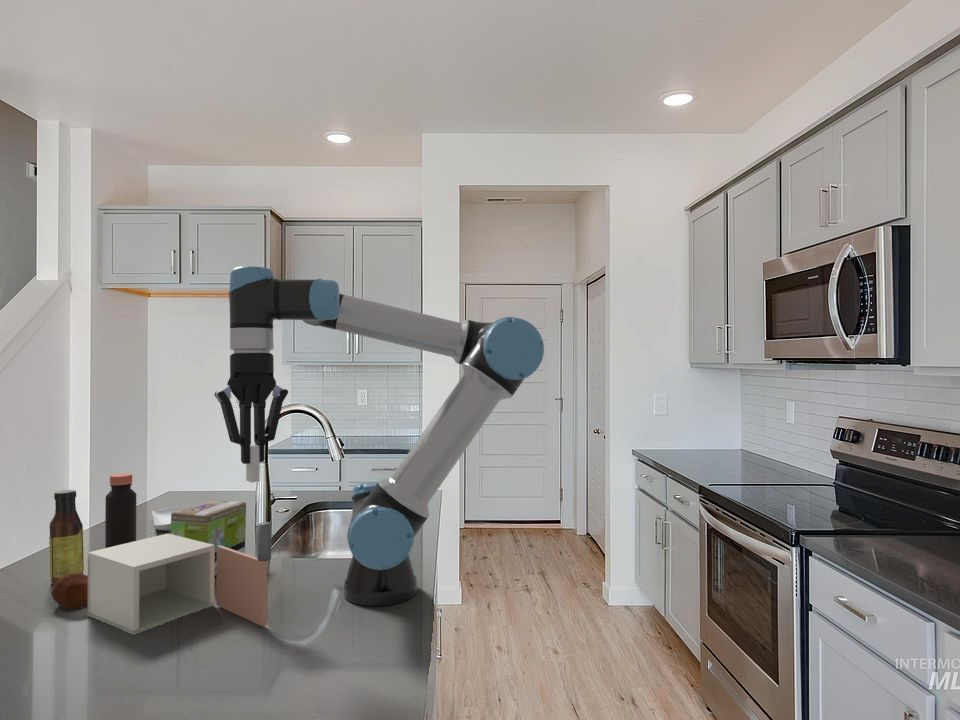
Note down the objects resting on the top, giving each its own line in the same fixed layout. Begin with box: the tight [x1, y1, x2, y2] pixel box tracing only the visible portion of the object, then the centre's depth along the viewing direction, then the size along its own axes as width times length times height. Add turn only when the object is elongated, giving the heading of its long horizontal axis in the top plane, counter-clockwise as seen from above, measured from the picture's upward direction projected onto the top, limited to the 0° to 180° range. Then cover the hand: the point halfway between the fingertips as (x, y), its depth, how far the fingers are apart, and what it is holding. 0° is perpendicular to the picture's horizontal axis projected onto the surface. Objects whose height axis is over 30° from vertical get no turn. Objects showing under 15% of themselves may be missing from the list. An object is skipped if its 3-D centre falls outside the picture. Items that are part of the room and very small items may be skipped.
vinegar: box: [104, 473, 137, 549], centre depth 158 cm, size 7×7×20 cm
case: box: [87, 533, 215, 636], centre depth 122 cm, size 16×16×12 cm
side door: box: [216, 521, 272, 627], centre depth 119 cm, size 16×2×18 cm, turn 51°
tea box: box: [170, 499, 247, 577], centre depth 146 cm, size 15×10×15 cm, turn 168°
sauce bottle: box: [48, 489, 85, 586], centre depth 138 cm, size 7×6×20 cm
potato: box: [51, 573, 88, 610], centre depth 124 cm, size 7×9×6 cm
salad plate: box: [151, 504, 196, 532], centre depth 190 cm, size 21×21×3 cm
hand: (252, 480), depth 115 cm, fingers closed
